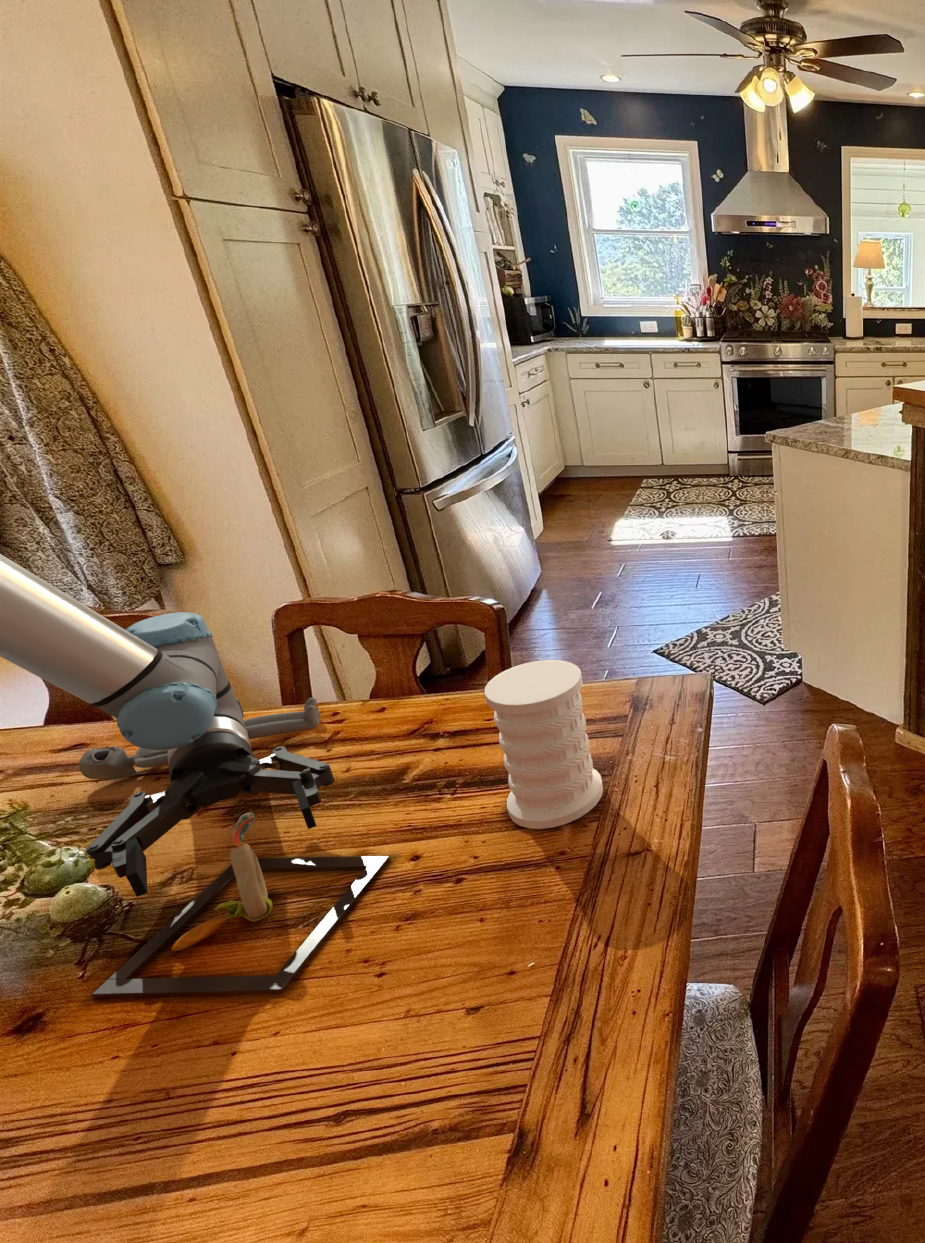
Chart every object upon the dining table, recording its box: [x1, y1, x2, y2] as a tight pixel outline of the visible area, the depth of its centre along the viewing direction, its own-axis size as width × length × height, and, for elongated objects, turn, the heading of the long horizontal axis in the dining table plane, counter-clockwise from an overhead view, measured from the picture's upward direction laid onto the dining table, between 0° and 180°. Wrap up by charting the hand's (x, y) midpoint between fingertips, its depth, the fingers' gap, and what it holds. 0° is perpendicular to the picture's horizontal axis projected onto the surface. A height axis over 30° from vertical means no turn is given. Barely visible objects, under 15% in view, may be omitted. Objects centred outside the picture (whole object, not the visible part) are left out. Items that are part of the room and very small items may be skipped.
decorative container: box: [484, 659, 604, 830], centre depth 91 cm, size 12×12×18 cm
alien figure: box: [78, 696, 321, 781], centre depth 100 cm, size 8×5×25 cm
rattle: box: [170, 812, 274, 952], centre depth 73 cm, size 8×8×12 cm
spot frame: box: [91, 855, 391, 999], centre depth 75 cm, size 17×17×1 cm
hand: (228, 849), depth 74 cm, fingers open, 13 cm apart
